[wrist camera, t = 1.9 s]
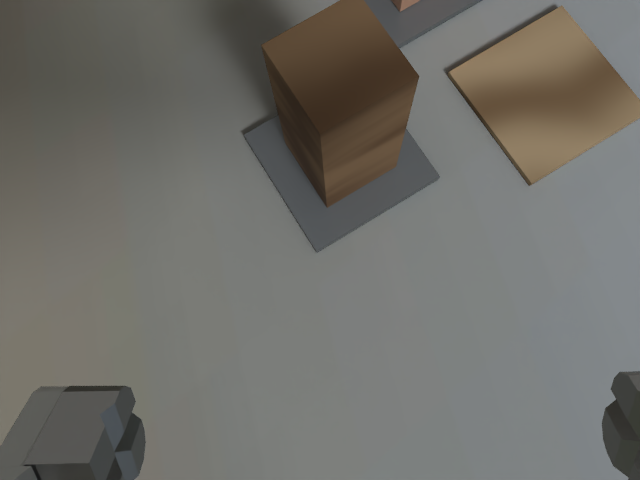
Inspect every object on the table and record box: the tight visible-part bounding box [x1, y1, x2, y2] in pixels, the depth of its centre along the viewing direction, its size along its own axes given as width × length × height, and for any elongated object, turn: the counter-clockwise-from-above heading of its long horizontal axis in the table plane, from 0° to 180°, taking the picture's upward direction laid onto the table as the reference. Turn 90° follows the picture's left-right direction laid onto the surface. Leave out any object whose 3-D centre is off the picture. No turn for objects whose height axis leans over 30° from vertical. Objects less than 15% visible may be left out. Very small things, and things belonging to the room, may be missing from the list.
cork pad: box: [448, 6, 640, 186], centre depth 33 cm, size 8×8×1 cm
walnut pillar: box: [261, 0, 419, 208], centre depth 28 cm, size 4×4×10 cm
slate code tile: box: [244, 115, 440, 252], centre depth 33 cm, size 8×8×1 cm
